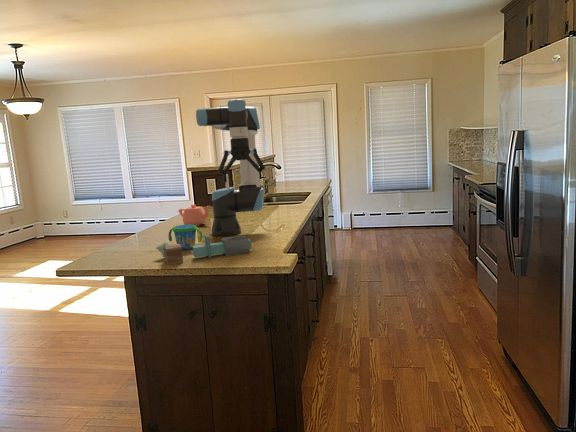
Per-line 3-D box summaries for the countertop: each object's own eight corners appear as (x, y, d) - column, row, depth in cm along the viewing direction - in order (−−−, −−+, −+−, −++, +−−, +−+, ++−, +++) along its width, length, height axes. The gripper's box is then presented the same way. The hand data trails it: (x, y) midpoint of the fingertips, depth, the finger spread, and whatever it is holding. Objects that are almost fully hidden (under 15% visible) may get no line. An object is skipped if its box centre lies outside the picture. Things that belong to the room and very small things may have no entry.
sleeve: (222, 252, 196) (221, 238, 195) (245, 249, 200) (244, 235, 199) (226, 256, 190) (224, 241, 189) (249, 252, 194) (248, 237, 192)
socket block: (166, 260, 189) (164, 245, 188) (180, 258, 191) (179, 243, 190) (167, 264, 182) (166, 248, 181) (183, 262, 184) (181, 246, 183)
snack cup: (207, 245, 212) (205, 224, 210) (196, 251, 202) (194, 228, 200) (177, 245, 217) (175, 224, 215) (165, 251, 207) (162, 228, 205)
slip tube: (193, 256, 192) (191, 236, 190) (248, 248, 200) (247, 229, 198) (195, 259, 186) (193, 238, 185) (252, 251, 194) (251, 231, 193)
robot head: (156, 259, 193) (154, 243, 191) (159, 256, 197) (158, 241, 195) (174, 258, 192) (172, 242, 190) (177, 256, 196) (176, 240, 194)
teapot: (208, 227, 261) (206, 205, 259) (175, 227, 265) (173, 207, 263) (216, 222, 274) (214, 202, 272) (184, 223, 277) (182, 203, 276)
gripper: (212, 139, 184) (216, 192, 188) (270, 135, 193) (273, 186, 197) (207, 139, 191) (212, 190, 194) (264, 136, 200) (267, 184, 204)
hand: (243, 188), depth 196 cm, fingers open, 13 cm apart
